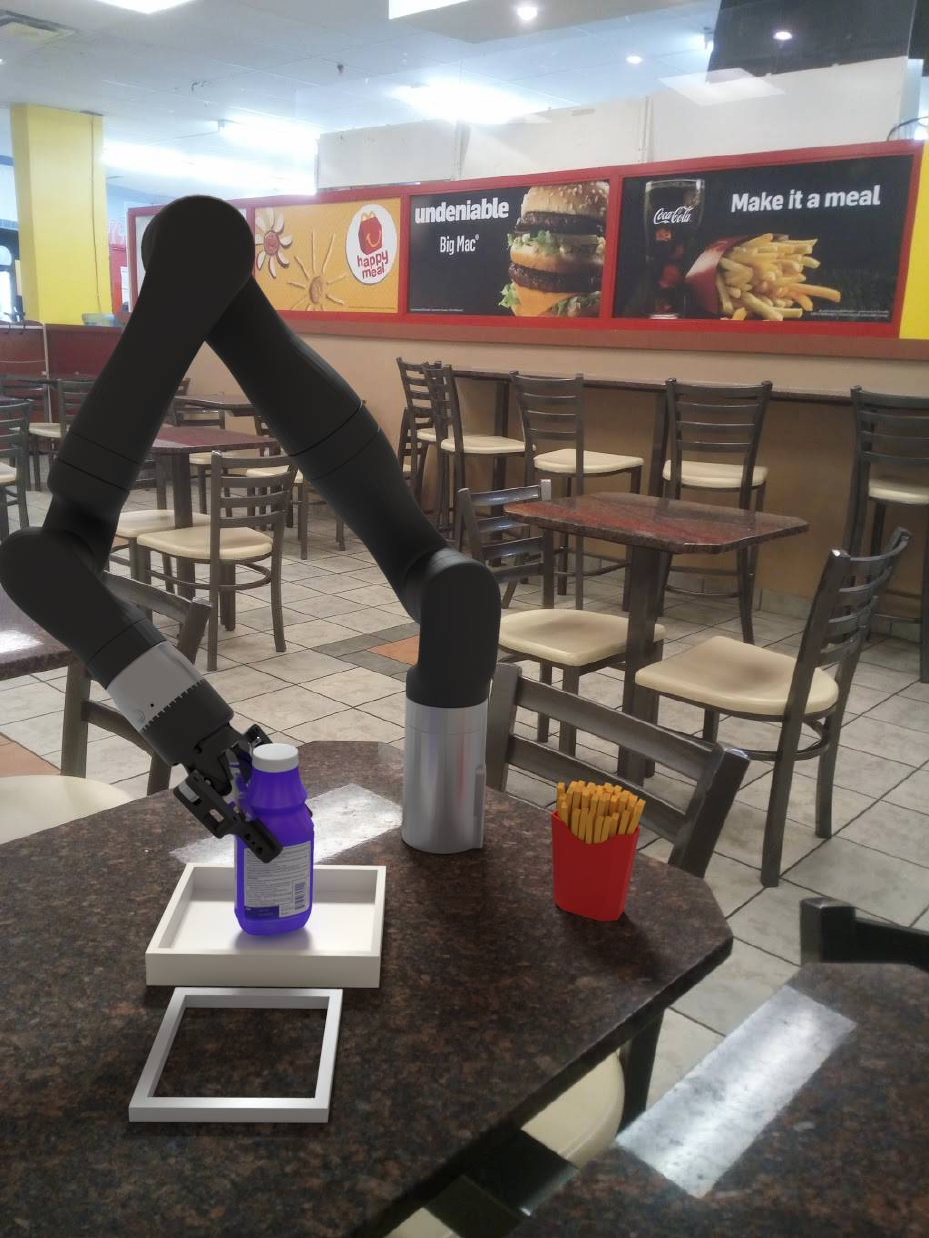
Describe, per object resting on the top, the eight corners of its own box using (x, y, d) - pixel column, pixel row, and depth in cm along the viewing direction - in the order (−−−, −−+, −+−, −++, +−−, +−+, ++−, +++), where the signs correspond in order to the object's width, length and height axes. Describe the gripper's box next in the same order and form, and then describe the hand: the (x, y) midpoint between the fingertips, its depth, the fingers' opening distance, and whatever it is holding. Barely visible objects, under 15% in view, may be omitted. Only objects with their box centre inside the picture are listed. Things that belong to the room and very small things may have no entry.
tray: (385, 893, 103) (386, 866, 102) (378, 987, 87) (379, 956, 86) (188, 890, 102) (187, 862, 101) (146, 984, 86) (145, 953, 85)
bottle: (305, 901, 98) (307, 735, 94) (318, 932, 93) (321, 758, 89) (230, 912, 95) (228, 742, 91) (239, 945, 90) (238, 766, 86)
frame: (342, 1001, 85) (342, 989, 85) (327, 1122, 72) (327, 1108, 71) (176, 999, 84) (175, 987, 84) (129, 1121, 71) (128, 1107, 71)
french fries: (541, 904, 102) (549, 786, 99) (557, 885, 106) (565, 771, 102) (627, 929, 98) (638, 807, 95) (640, 909, 102) (652, 791, 98)
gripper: (155, 703, 83) (288, 852, 84) (231, 657, 97) (345, 785, 97) (101, 755, 86) (230, 899, 86) (182, 702, 99) (294, 827, 100)
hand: (290, 838), depth 92 cm, fingers closed on bottle, 6 cm apart
